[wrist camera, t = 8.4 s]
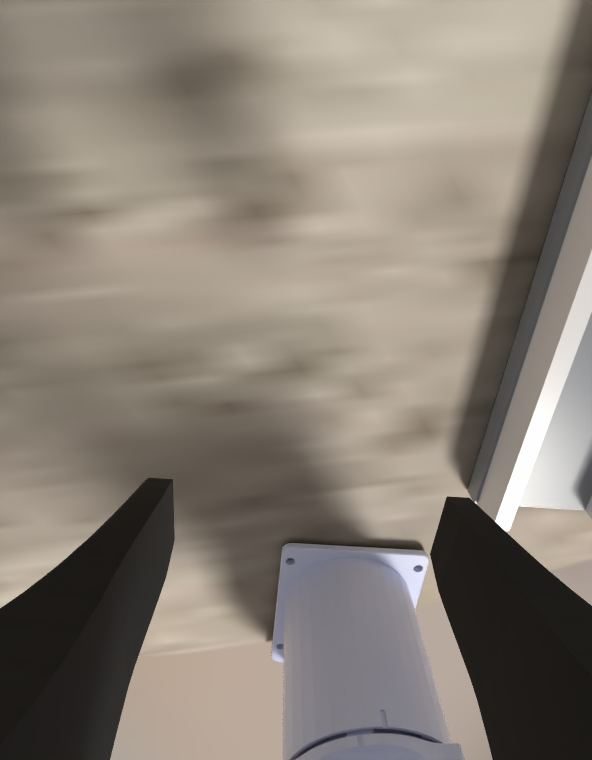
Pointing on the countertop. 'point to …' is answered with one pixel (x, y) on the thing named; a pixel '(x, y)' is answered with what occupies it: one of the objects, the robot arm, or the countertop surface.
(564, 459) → the grey tray
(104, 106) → the countertop surface
